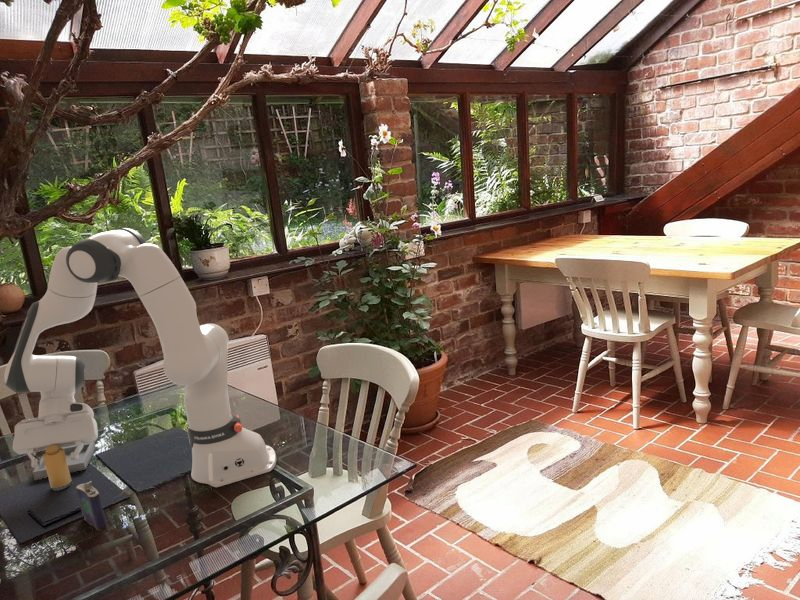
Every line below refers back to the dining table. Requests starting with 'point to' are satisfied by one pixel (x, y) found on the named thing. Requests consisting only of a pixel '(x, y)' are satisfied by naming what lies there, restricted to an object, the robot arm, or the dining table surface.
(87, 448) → the gray tray
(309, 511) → the dining table surface
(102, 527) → the flask
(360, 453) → the dining table surface
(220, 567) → the dining table surface
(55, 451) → the amber bottle
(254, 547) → the dining table surface
